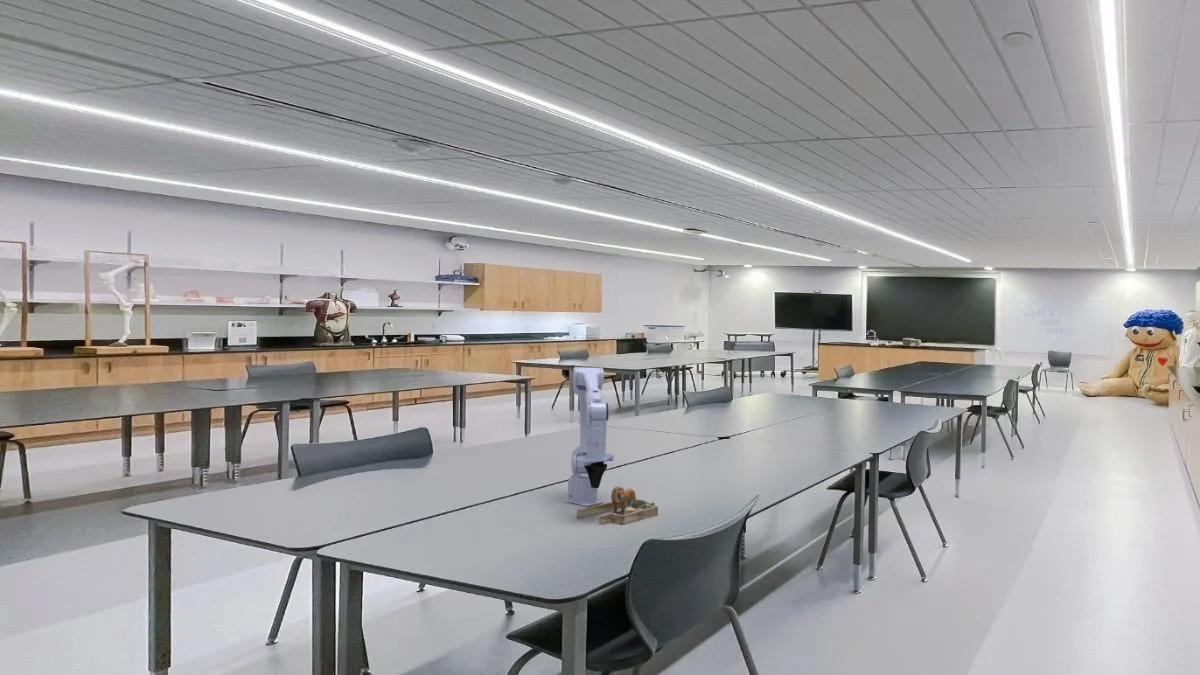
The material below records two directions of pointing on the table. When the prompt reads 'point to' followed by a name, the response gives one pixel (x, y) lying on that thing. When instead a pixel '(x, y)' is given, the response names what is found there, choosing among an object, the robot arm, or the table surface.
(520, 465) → the table surface
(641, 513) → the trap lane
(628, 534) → the table surface
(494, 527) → the table surface
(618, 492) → the lion figurine
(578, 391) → the robot arm
